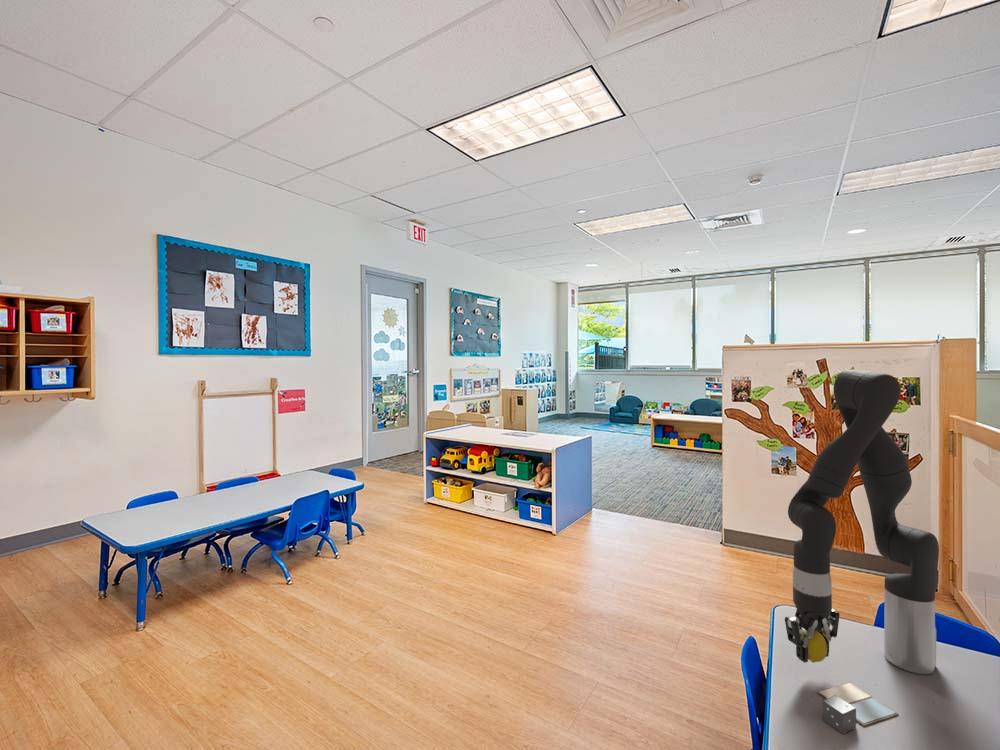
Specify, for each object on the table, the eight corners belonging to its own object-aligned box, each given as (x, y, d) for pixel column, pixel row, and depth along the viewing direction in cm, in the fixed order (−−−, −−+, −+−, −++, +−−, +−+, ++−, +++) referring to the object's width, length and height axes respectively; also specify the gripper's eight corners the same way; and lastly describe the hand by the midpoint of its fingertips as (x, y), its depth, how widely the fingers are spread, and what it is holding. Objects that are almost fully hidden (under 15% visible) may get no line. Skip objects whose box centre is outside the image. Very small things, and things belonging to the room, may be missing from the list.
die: (835, 694, 96) (856, 708, 92) (835, 714, 96) (856, 728, 93) (822, 699, 95) (843, 713, 91) (822, 719, 95) (843, 734, 91)
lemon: (831, 671, 105) (831, 637, 104) (804, 668, 106) (803, 634, 106) (820, 655, 110) (820, 623, 110) (794, 653, 111) (794, 621, 111)
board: (849, 683, 105) (849, 681, 105) (898, 715, 96) (898, 713, 96) (816, 693, 103) (816, 691, 103) (863, 726, 93) (863, 724, 93)
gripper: (801, 600, 102) (803, 674, 102) (851, 589, 105) (852, 661, 106) (773, 584, 109) (774, 654, 110) (820, 574, 113) (821, 642, 113)
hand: (812, 657), depth 108 cm, fingers closed on lemon, 5 cm apart
